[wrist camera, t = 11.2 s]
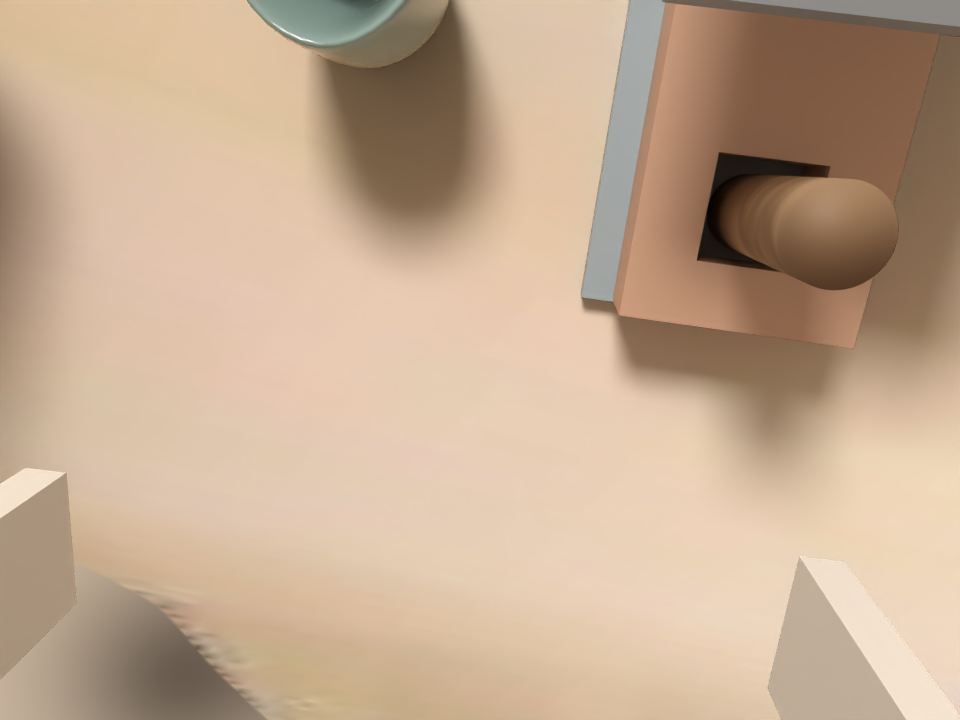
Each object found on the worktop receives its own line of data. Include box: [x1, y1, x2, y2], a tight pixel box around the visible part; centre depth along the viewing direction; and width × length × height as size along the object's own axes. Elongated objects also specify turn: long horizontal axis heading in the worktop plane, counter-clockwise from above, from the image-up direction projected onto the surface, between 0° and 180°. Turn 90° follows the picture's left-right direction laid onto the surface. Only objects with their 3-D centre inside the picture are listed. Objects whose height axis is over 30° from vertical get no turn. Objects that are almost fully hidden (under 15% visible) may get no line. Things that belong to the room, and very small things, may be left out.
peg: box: [707, 174, 899, 291], centre depth 29 cm, size 4×4×12 cm
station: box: [581, 0, 960, 349], centre depth 27 cm, size 14×25×16 cm, turn 173°
